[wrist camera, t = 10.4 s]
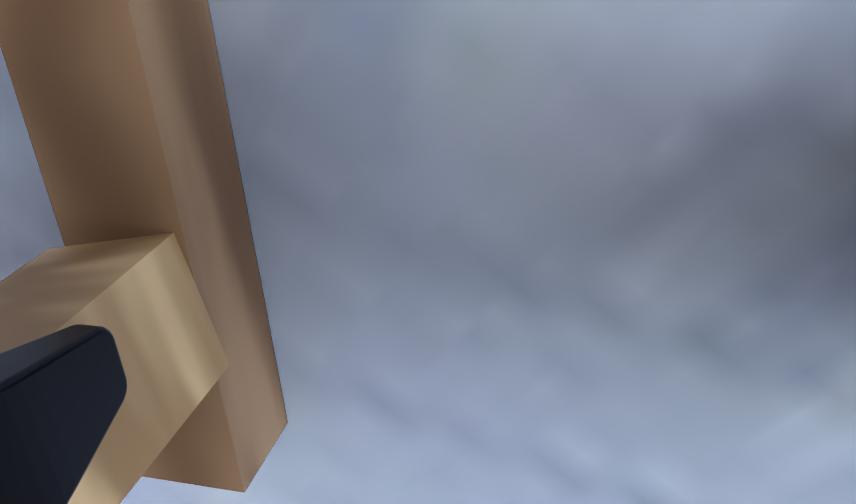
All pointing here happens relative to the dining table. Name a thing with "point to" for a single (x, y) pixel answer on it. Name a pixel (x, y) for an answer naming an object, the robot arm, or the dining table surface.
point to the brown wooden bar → (155, 189)
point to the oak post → (123, 341)
